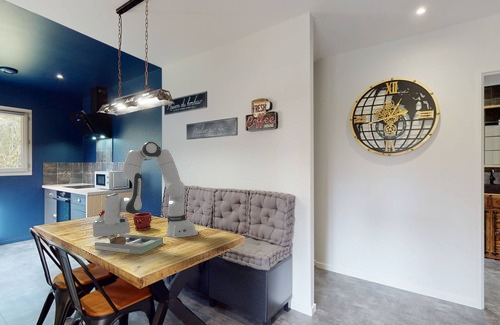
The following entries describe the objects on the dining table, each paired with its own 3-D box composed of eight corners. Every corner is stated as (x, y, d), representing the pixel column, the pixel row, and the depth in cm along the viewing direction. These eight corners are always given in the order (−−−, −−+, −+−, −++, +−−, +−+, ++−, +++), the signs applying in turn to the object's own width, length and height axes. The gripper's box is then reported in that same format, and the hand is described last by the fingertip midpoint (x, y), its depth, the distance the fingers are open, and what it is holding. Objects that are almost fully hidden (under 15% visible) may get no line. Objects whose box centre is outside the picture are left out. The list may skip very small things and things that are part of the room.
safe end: (129, 252, 143) (129, 246, 143) (152, 242, 162) (152, 236, 162) (141, 254, 140) (141, 248, 140) (163, 243, 159) (162, 237, 159)
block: (110, 245, 150) (110, 239, 150) (118, 242, 155) (118, 236, 155) (117, 246, 147) (117, 240, 147) (125, 243, 153) (125, 237, 153)
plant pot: (136, 227, 201) (136, 212, 201) (153, 226, 202) (153, 212, 202) (130, 231, 188) (130, 216, 188) (148, 231, 189) (148, 215, 189)
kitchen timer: (117, 227, 203) (117, 208, 203) (103, 231, 189) (103, 212, 189) (103, 226, 206) (103, 208, 206) (89, 230, 192) (88, 211, 192)
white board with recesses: (94, 248, 150) (94, 242, 150) (120, 239, 169) (120, 233, 169) (141, 254, 140) (141, 247, 140) (163, 243, 159) (162, 237, 159)
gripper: (91, 222, 146) (91, 246, 146) (130, 219, 155) (130, 241, 154) (93, 220, 152) (93, 242, 152) (130, 217, 160) (130, 238, 160)
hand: (112, 242), depth 153 cm, fingers closed
